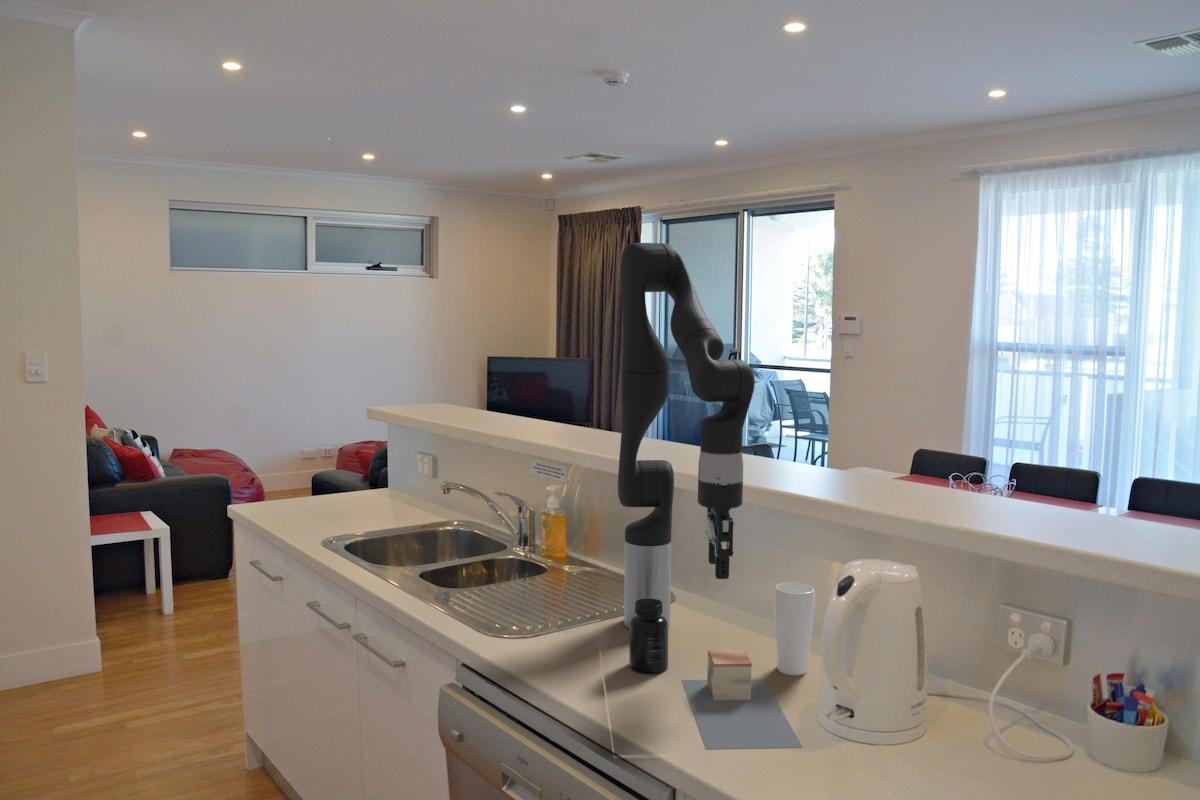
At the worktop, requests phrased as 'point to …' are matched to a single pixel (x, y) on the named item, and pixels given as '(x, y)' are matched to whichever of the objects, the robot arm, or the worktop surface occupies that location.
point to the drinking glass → (793, 626)
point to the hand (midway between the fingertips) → (718, 570)
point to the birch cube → (729, 675)
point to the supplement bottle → (648, 638)
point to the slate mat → (740, 719)
